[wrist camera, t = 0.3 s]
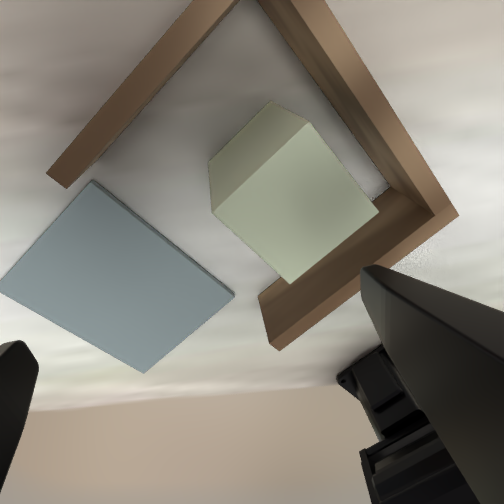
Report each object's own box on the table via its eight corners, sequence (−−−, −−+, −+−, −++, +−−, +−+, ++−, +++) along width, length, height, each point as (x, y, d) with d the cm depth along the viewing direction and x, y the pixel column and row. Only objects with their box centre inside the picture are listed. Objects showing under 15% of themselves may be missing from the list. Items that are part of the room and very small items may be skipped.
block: (321, 164, 22) (379, 211, 15) (262, 216, 23) (289, 284, 16) (270, 100, 19) (309, 121, 13) (208, 162, 21) (211, 213, 14)
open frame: (410, 186, 23) (459, 215, 19) (266, 303, 26) (279, 351, 22) (250, -48, 16) (269, -89, 12) (80, 148, 19) (45, 173, 15)
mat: (234, 293, 25) (234, 297, 25) (144, 368, 28) (143, 373, 27) (92, 179, 20) (90, 182, 20) (-3, 284, 23) (-7, 288, 22)
